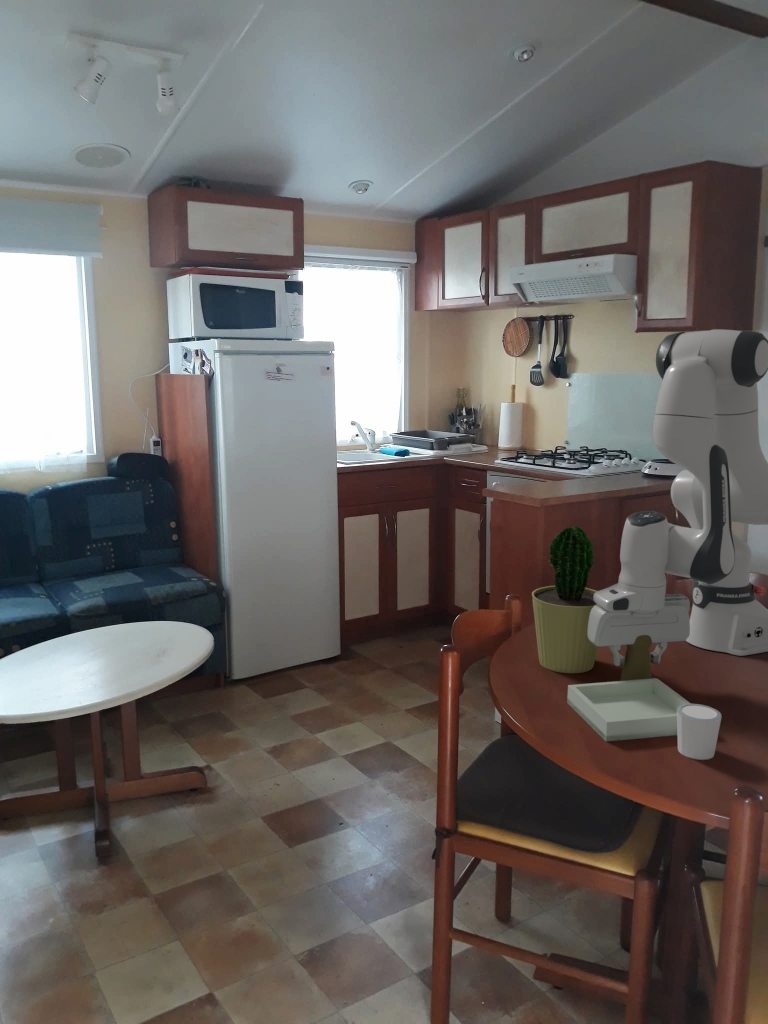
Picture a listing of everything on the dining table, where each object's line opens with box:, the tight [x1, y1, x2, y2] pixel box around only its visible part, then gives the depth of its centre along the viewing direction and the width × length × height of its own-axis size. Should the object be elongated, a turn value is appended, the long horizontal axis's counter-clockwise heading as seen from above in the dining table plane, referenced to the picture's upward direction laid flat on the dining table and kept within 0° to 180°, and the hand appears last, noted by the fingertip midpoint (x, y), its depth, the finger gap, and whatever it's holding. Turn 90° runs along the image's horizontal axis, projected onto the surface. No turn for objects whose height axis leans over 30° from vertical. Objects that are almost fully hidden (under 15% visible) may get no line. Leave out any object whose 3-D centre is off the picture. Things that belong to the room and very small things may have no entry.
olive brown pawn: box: [619, 635, 653, 681], centre depth 164 cm, size 6×6×11 cm
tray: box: [566, 677, 692, 743], centre depth 149 cm, size 18×16×4 cm
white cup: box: [676, 703, 722, 761], centre depth 136 cm, size 7×7×7 cm
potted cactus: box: [531, 524, 599, 674], centre depth 173 cm, size 15×15×30 cm
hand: (636, 663), depth 164 cm, fingers open, 6 cm apart
